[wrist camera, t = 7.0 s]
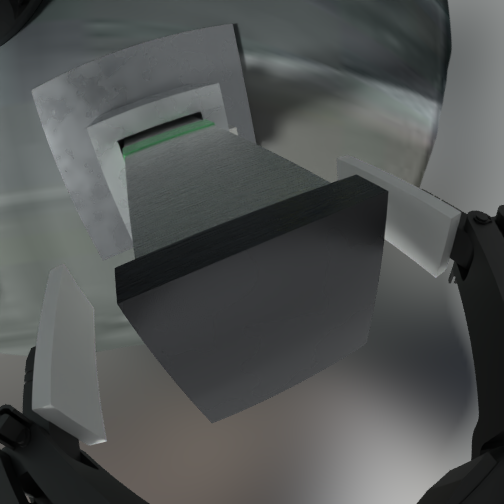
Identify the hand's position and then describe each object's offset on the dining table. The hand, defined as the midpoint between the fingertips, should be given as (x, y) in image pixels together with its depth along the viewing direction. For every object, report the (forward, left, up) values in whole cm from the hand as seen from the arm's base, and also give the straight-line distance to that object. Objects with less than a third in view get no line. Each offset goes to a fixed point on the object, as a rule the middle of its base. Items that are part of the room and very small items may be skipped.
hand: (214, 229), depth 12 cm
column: (0, 0, -15) cm, 15 cm away
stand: (0, 0, -22) cm, 22 cm away
